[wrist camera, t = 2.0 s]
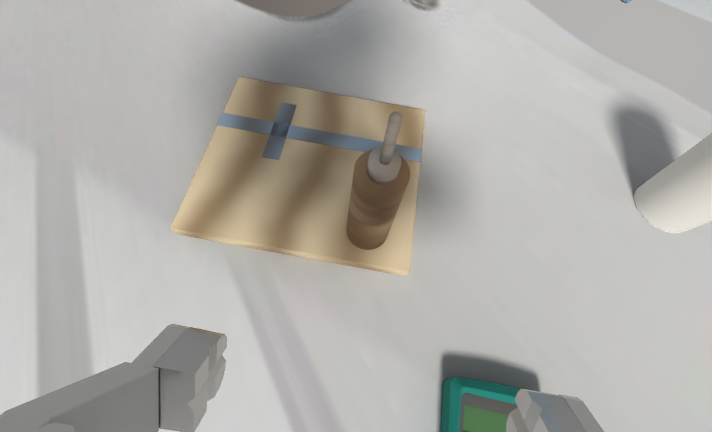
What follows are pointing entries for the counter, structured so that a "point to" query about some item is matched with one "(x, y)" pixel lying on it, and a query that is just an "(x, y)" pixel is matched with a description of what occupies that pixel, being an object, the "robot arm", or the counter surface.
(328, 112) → the plywood panel
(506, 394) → the digital multimeter
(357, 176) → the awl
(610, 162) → the counter surface
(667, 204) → the white cup
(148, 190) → the counter surface
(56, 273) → the counter surface
